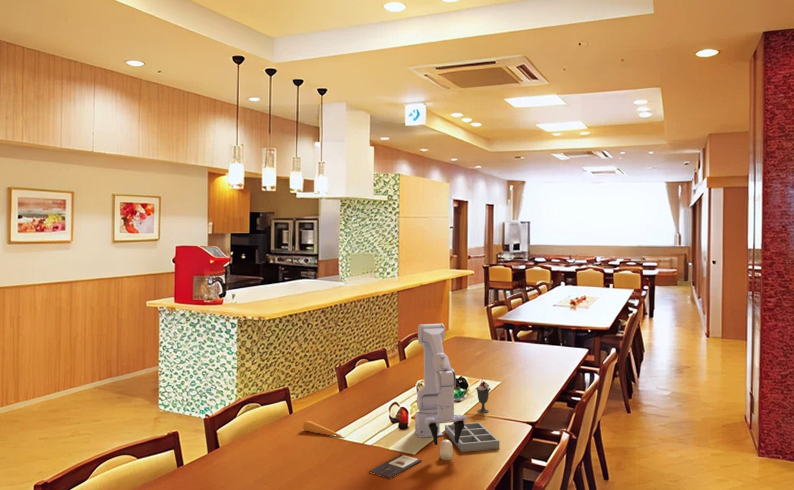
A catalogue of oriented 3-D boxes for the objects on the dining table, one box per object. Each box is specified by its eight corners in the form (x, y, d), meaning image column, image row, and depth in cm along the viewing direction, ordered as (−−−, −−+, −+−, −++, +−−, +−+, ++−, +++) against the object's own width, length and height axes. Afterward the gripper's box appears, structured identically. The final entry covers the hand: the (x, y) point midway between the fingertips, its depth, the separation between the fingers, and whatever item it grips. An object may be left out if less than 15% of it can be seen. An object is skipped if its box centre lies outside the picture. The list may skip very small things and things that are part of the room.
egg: (442, 460, 203) (441, 442, 203) (438, 455, 208) (438, 438, 207) (454, 459, 204) (453, 441, 204) (450, 454, 208) (450, 437, 208)
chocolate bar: (368, 471, 193) (400, 454, 208) (368, 474, 193) (400, 456, 208) (390, 477, 188) (421, 460, 202) (390, 480, 188) (421, 462, 202)
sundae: (479, 414, 254) (479, 380, 254) (473, 409, 260) (473, 376, 260) (493, 412, 256) (493, 378, 255) (486, 408, 262) (486, 375, 262)
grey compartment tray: (461, 452, 211) (461, 443, 210) (444, 432, 231) (444, 425, 231) (499, 448, 213) (499, 440, 213) (479, 429, 234) (479, 422, 234)
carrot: (302, 433, 235) (300, 424, 233) (308, 425, 239) (307, 417, 237) (343, 446, 225) (341, 437, 224) (349, 438, 229) (348, 429, 227)
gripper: (428, 409, 200) (429, 449, 200) (469, 406, 203) (469, 445, 203) (423, 403, 207) (424, 441, 207) (462, 400, 210) (463, 438, 210)
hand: (446, 443), depth 206 cm, fingers open, 7 cm apart
